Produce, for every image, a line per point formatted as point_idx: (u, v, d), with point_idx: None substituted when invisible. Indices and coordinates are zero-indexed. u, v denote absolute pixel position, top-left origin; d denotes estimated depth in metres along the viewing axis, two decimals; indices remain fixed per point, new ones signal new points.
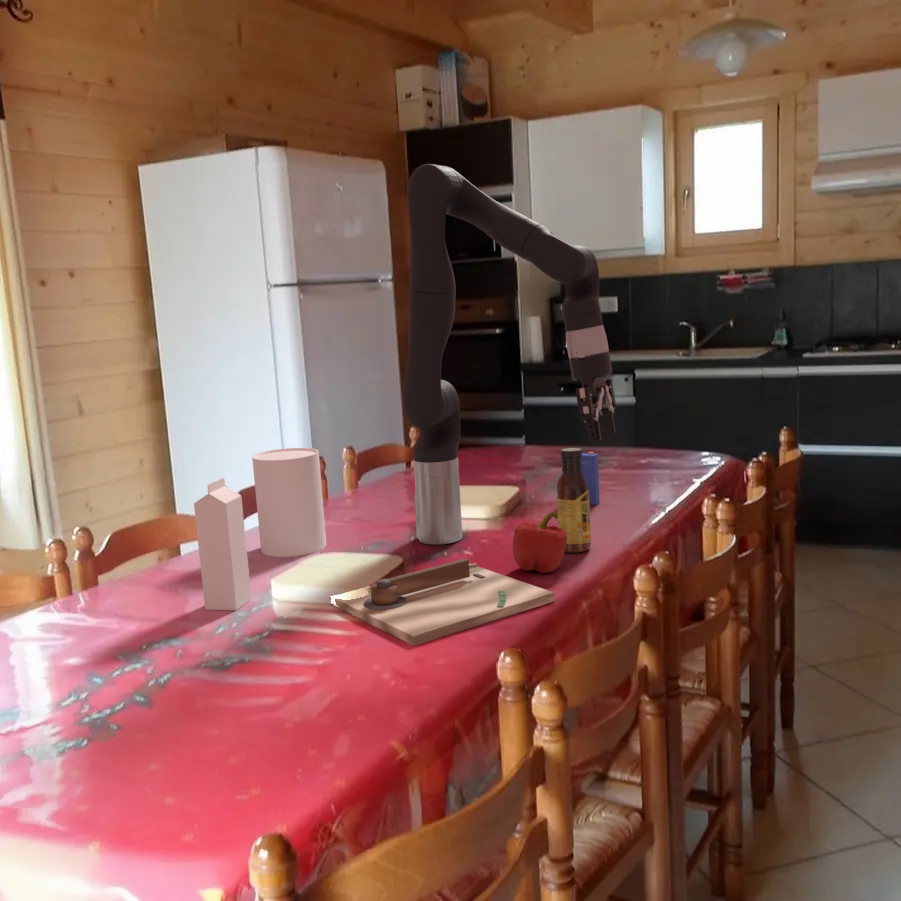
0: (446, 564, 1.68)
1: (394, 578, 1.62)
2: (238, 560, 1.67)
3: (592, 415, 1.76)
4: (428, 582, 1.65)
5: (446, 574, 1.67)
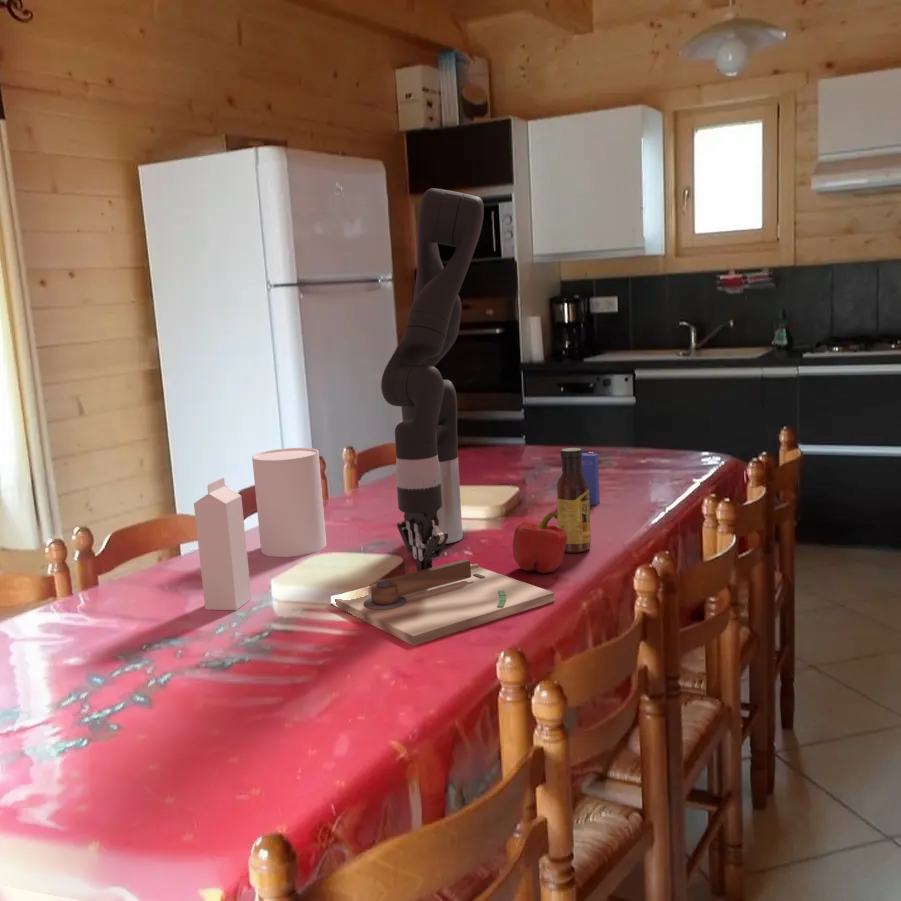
0: (447, 564, 1.67)
1: (394, 578, 1.62)
2: (238, 560, 1.67)
3: (408, 550, 1.69)
4: (428, 583, 1.65)
5: (446, 574, 1.67)
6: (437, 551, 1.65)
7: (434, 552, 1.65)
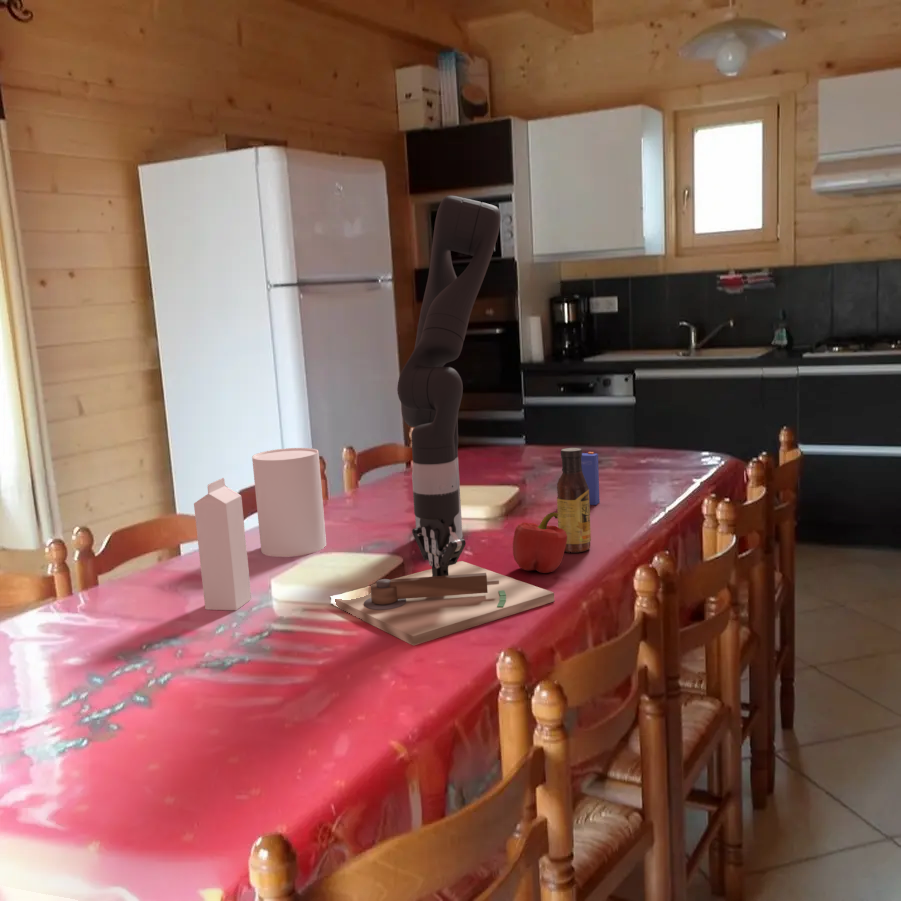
0: (460, 575, 1.61)
1: (396, 580, 1.60)
2: (238, 560, 1.67)
3: None
4: (434, 590, 1.60)
5: (456, 585, 1.60)
6: (454, 558, 1.61)
7: (451, 559, 1.61)
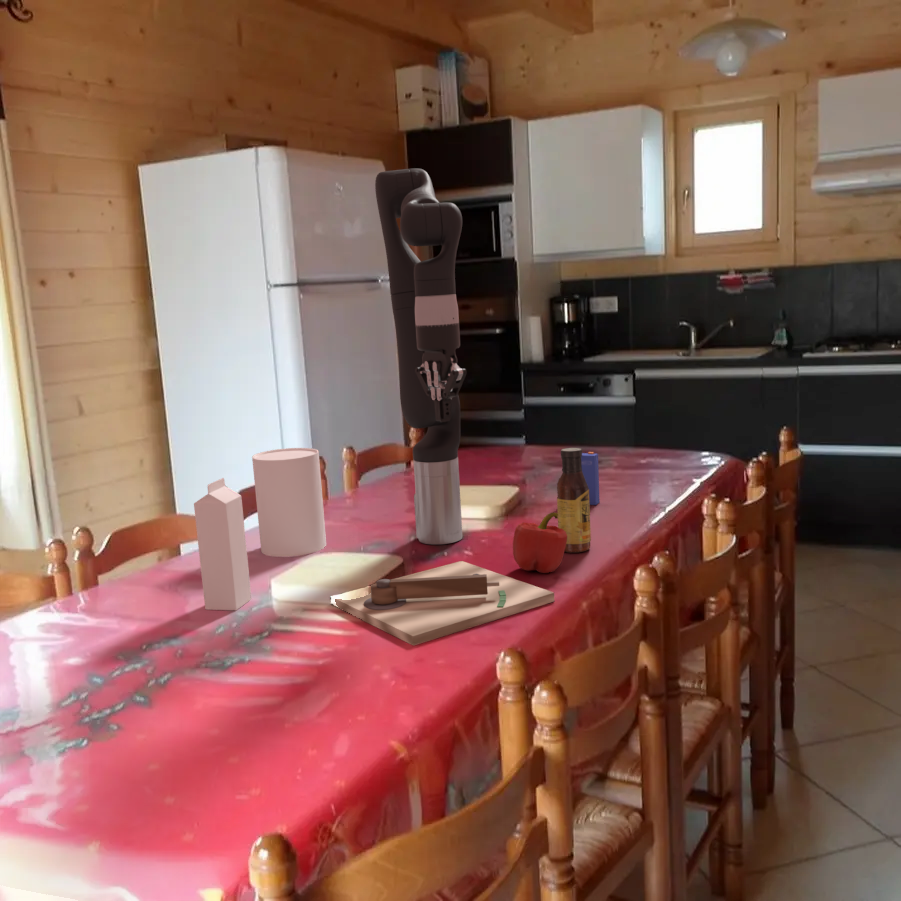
0: (460, 576, 1.60)
1: (396, 580, 1.60)
2: (238, 560, 1.67)
3: (426, 393, 1.72)
4: (434, 591, 1.60)
5: (456, 586, 1.60)
6: (455, 390, 1.68)
7: (452, 391, 1.68)
